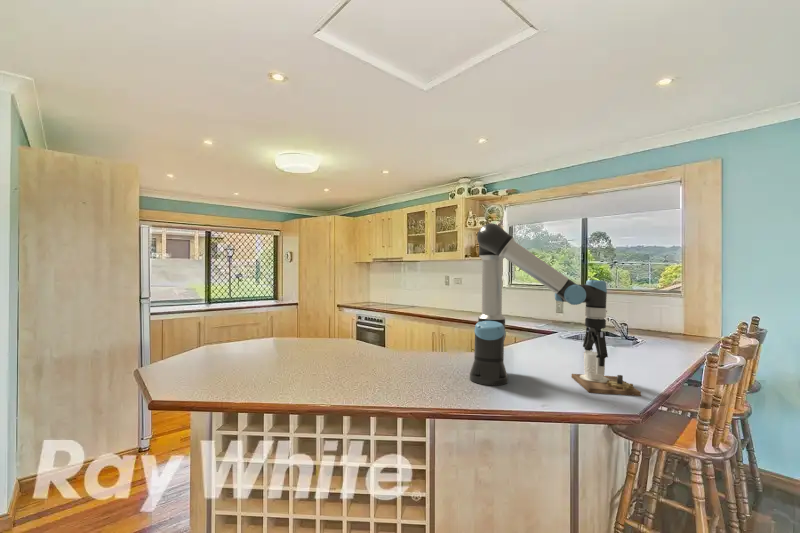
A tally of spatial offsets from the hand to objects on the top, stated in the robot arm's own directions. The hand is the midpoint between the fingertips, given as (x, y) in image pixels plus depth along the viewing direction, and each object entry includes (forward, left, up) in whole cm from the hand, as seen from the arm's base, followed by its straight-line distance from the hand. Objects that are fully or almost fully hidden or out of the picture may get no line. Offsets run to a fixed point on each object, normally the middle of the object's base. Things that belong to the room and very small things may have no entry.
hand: (594, 369), depth 154 cm
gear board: (+2, -4, -5) cm, 7 cm away
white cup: (0, 0, -4) cm, 4 cm away
